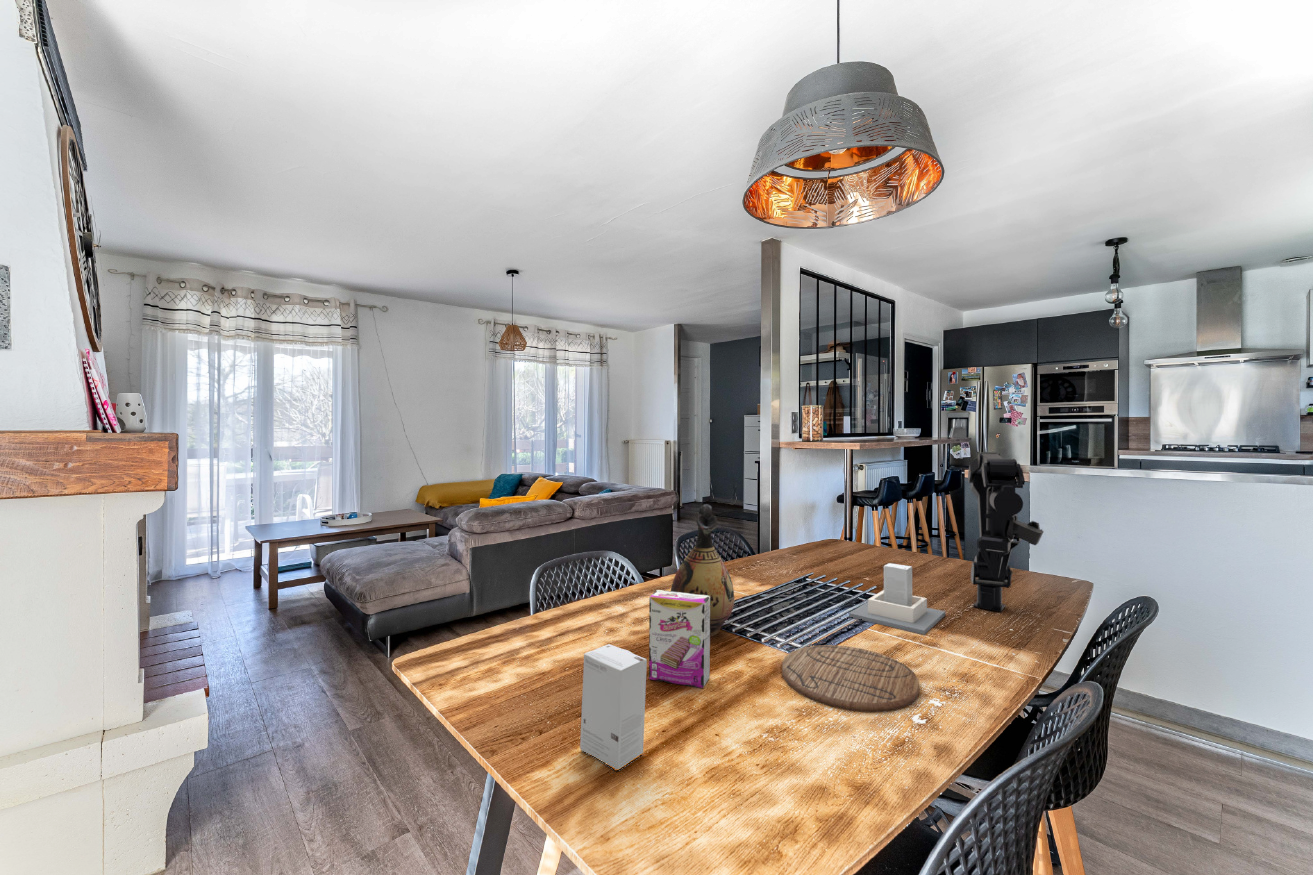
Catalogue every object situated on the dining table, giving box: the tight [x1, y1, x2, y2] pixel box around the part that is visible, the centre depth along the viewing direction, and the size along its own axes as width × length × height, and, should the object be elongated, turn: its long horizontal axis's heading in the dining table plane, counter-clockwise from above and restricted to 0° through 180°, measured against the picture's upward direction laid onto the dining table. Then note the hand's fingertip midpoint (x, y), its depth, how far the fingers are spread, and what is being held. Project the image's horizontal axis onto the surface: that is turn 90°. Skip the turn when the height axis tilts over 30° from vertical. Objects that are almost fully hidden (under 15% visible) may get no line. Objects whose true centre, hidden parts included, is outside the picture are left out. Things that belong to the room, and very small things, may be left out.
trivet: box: [781, 644, 920, 713], centre depth 106 cm, size 25×25×2 cm
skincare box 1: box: [579, 643, 648, 769], centre depth 81 cm, size 8×6×15 cm
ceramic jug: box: [670, 503, 735, 637], centre depth 131 cm, size 17×15×30 cm
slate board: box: [848, 601, 946, 636], centre depth 140 cm, size 18×18×1 cm
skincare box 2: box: [883, 562, 913, 607], centre depth 141 cm, size 6×4×12 cm
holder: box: [867, 589, 928, 623], centre depth 140 cm, size 11×11×4 cm
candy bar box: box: [648, 589, 711, 689], centre depth 105 cm, size 11×5×16 cm, turn 71°
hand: (999, 573), depth 133 cm, fingers open, 9 cm apart
